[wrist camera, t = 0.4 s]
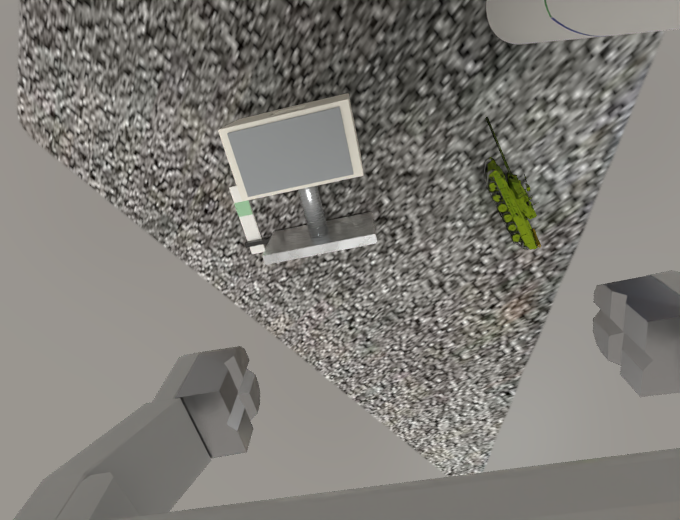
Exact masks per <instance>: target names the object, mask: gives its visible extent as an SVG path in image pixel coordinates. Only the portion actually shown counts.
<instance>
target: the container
mask: <svg viewBox="0 0 680 520" xmlns="http://www.w3.org/2000/svg"><path fill="white" fill-rule="evenodd" d="M486 13H487V19H488V22H489V25H490V27H491V29H492V31H493V32H494V33H495V34H496V35H497V36H498V37H499V38H500V39H501V40H503V41H505V42H507V43H511V44H530V43H540V42H550V41H561V40H571V39H582V38H592V37H602V36H613V35H623V34H633V33H643V32H654V31H664V30H674V29H680V0H487V1H486Z"/></svg>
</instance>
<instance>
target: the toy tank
mask: <svg viewBox="0 0 680 520" xmlns="http://www.w3.org/2000/svg"><path fill="white" fill-rule="evenodd" d="M486 118H487V119H486V120H487V123H488V125H489V127H490V130H491V129H492V126H491V124H490V122H489V119H488V117H486ZM492 130H493V129H492ZM491 132H492V134H494V131H491ZM494 136H495V134H494V135H493V137H494ZM495 137H496V136H495ZM495 137H494V139H495V141H497V138H495ZM497 142H498V141H497ZM496 144H497V146H499V143H496ZM499 148H500V146H499V147H498V149H499ZM500 149H501V148H500ZM500 149H499V151H500V153H501V152H502V150H500ZM502 155H503V153H502V154H501V156H502ZM503 156H504V155H503ZM503 156H502V158H504V159H503V161H504V160H505V157H503ZM504 163H505V166H506V168H507V170H508V168H509V166H508V164H507V162H506V160H505V161H504ZM506 164H507V165H506ZM485 166H486V168H488V171H486V173H485V167H484V178H485V180H487V181H486V182H487V189H488V191H490V192H493V191H494V193H492V196H491V197H492V199H493V201H496V202H497V204H498V205H497V206H496V207H497V210H498V211H499V213H500V212H501V213H502V216H501V217H502V220H504V222H505V223H507V225H505V226H506V228H507V230H508V231H509V232H511V233H512V234H511V239H512V240H513V243H515V244H516V245H518V246H520V247H521V248H523V249H528V248H529V249H530V250H531V249H536V248H537V247H541V244H540V242H539V240H538V238H537V235H536V232H535V230H534V229H532V228H531V225H530V223H529V221H528V219H527V218H529V219H532V218H534V217H536V216H537V215H536V213H535V211H534V209H533V205H532V203H531V202H530V201H529V200H530V199H531V200H532V196H531V197H530V198H529V197H528V194H526V193H527V192H526V189H524V188H523V187H522V185H521V183H520V182H521V181H520V180H518V178H517V177H516V176H517V175H513V174H512V173H509V170H510V169H509V170H508V173H507V178H508V179H507V180H508V182H507V180H506V178H505V175H504V172H503V171H502V169H501V168H500V167H499V166H498V165H497V164H496V162H495V160H494V159H493V158H491V157H490V158H489V159H488V160H486V162H485ZM510 172H511V171H510ZM524 175H525V174H524ZM525 178H526V177H525ZM525 180H526V179H525ZM525 180H524V181H525ZM488 181H490V182H488ZM565 182H566V181H565ZM525 184H526V183H525ZM527 186H528V187H527ZM526 187H527V191H530V186H529V185H527V184H526ZM495 191H496V192H495ZM490 192H489V193H490ZM490 195H491V194H490ZM500 200H501V201H500ZM494 203H495V202H494ZM536 204H537V203H536ZM495 205H496V204H495ZM534 205H535V204H534ZM500 215H501V214H500ZM505 223H504V224H505ZM531 229H532V230H531ZM518 241H519V242H521V245H520V244H519V243H518ZM536 244H537V245H536ZM523 245H525V246H523Z"/></svg>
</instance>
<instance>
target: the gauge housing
mask: <svg viewBox="0 0 680 520" xmlns="http://www.w3.org/2000/svg"><path fill="white" fill-rule="evenodd" d="M218 131H219V134H220V137H221V140H222V143H223V146H224V149H225V152H226V155H227V158H228V161H229V164H230V167H231V170H232V173H233V176H234V179H235V182H236V186H232V187H229V189H230V192H231V195H232V198H233V201H234V204H235V207H236V210H237V213H238V216H239V218H240V221H241V224H242V227H243V229H244V232H245V235H246V238H247V241H248V242H249V241H254V240H259V239H262V237H261V234H260V231H259V228H258V225H257V222H256V219H255V216H254V213H253V210H252V207H251V204H250V201H249V200H251V199H256V198H261V197H265V196H270V195H275V194H279V193H284V192H289V191H293V190H298V189H303V188H307V187H312V186H317V185H321V184H326V183H331V182H335V181H340V180H345V179H349V178H354V177H359V176H363V167H362V158H361V153H360V148H359V143H358V138H357V133H356V128H355V123H354V118H353V113H352V108H351V103H350V98H349V93H346V94H342V95H338V96H333V97H329V98H325V99H321V100H317V101H312V102H308V103H304V104H300V105H296V106H291V107H287V108H283V109H279V110H275V111H271V112H266V113H262V114H258V115H254V116H250V117H245V118H241V119H238V120H236V121H234V122H232V123H230V124H228V125H227V126H225V127H223V128H221V129H219V130H218ZM250 250H251V252H252V254H256V253H261V252H264V251H265V246H264V244H262V245H257V246H252V247H250Z"/></svg>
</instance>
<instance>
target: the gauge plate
mask: <svg viewBox="0 0 680 520" xmlns="http://www.w3.org/2000/svg"><path fill="white" fill-rule="evenodd" d="M298 192H299V196H300V200H301V203H302V207H303V211H304V214H305V218H306V221H307V225H304V226H299V227H294V228H289V229H284V230H279V231H274V232H273V234H272V236H271V237H269V238H264V239H259V240H254V241H249V242H246V243H245V246H246V248H247V247H252V246H257V245H262V244H267V243H268V245H267V247H266V249H265V251H264V254H263V256H262V257H263V259H264V262H265V265H267V264H272V263H277V262H282V261H287V260H292V259H297V258H303V257H308V256H313V255H318V254H323V253H328V252H334V251H339V250H344V249H349V248H354V247H359V246H364V245H370V244H375V243H377V239H376V232H375V225H374V219H373V214H372V212H368V213H363V214H358V215H353V216H348V217H343V218H338V219H333V220H328V221H326V219H325V215H324V211H323V207H322V203H321V199H320V195H319V191H318V187H317V186H312V187H307V188H303V189H298Z"/></svg>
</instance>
